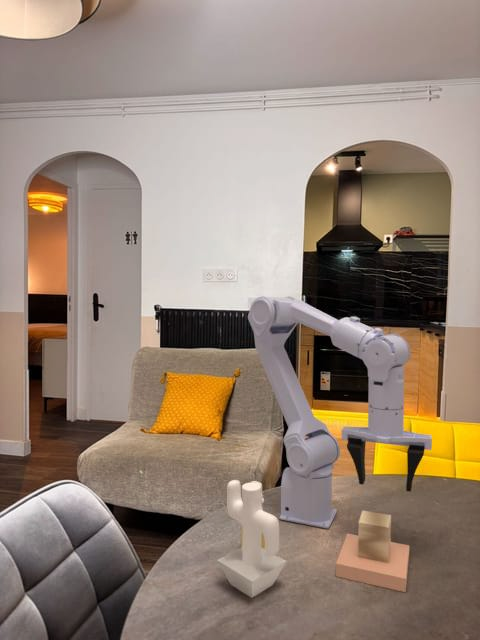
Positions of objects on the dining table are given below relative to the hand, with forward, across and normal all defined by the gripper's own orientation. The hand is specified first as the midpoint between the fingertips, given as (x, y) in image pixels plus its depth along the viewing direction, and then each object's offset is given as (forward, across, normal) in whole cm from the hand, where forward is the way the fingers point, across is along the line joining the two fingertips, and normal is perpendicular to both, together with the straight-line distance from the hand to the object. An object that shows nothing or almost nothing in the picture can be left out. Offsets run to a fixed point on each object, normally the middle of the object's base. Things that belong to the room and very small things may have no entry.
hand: (385, 485), depth 81 cm
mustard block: (+8, -21, -10) cm, 25 cm away
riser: (+10, -1, -7) cm, 13 cm away
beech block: (+8, -1, -7) cm, 11 cm away
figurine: (+10, -16, -20) cm, 28 cm away
